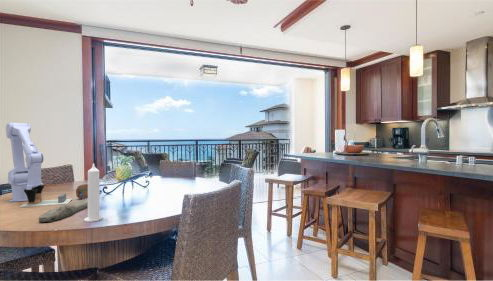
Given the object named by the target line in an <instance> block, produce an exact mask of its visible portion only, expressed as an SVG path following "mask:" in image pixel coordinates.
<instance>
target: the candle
mask: <svg viewBox="0 0 493 281" xmlns="http://www.w3.org/2000/svg"><path fill="white" fill-rule="evenodd" d="M87 183H88V198H87V199H88V207H87V217H84V219H83V220H84V222H86V223H93V222H94V223H95V222H98V221H99V222H100V221H101V220H103V218H104V217H103V215H100V170H99V169H98V168H97V167H96V164H95V163H94V162H93V163H92V167H91V168H90V169H88V171H87Z"/></svg>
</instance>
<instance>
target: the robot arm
mask: <svg viewBox="0 0 493 281" xmlns="http://www.w3.org/2000/svg"><path fill="white" fill-rule="evenodd" d="M31 131H32V126H31V125H30V123H29V122H26V123H25V122H24V123H23V122H22V123H21V122H8V123H7V124H6V126H5V134H6V138H7V139H10V144H11V153H12V154H11V155H12V161H13V168H12V169H10V170H9V171H8V173H7V175H8V176H7V183H8V185H10V186H11V199H10V200H8V202H9V203H12V202H14V203H15V202H26V201H27V198H28V201H29V203H31V202H34V201H35V196H36V193H42V192H43V190H44V188H45V185H44V184H45V183H44V182H42V164H43V162H44V160H45V159H44V154H43V153H42V152H41V151H39V149H38V147H37V145H36V143H34V142H33V141H32V139H31V136H30V133H31ZM24 154H25V156H24ZM42 194H43V193H42Z"/></svg>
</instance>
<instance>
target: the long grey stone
mask: <svg viewBox="0 0 493 281" xmlns="http://www.w3.org/2000/svg"><path fill="white" fill-rule="evenodd" d="M86 208H87V209H88V198H86V199H79V200H77V201H75V202H72V203H70V204H69V203H68V204H65V205H59V206H56V207H54V208H52V209H49V210H47V211H45V212H44V213H42V214H41V215H39V216H38V221H39V223H45V222H53V221H58V220H61V219H64V218H68V217H70V216H72V215H73V214H76V213H77V212H78V211H82V210H83V209H86ZM69 215H70V216H69ZM67 216H68V217H67Z"/></svg>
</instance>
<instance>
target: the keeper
mask: <svg viewBox="0 0 493 281" xmlns="http://www.w3.org/2000/svg"><path fill="white" fill-rule="evenodd" d="M42 194H43V193H36V196H35V201H34V202H31V203H29V201H28V198H27V202H26V203H27V204H32V203H40V202H41V201H42V200H43V199H42V197H43V196H42Z"/></svg>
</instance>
